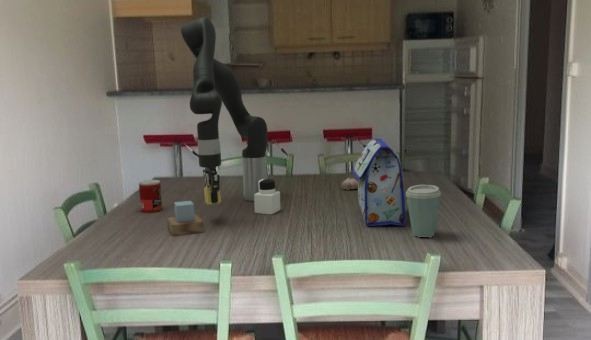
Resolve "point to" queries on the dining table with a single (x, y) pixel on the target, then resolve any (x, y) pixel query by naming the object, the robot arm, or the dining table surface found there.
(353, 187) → the garlic bulb
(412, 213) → the disposable coffee cup
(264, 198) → the medicine bottle
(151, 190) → the canned food
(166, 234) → the dining table surface
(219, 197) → the ochre block
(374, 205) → the lunch bag
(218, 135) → the robot arm
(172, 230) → the walnut base
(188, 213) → the slate cube
